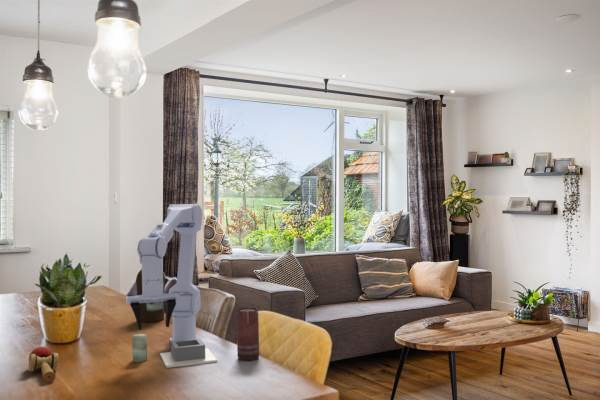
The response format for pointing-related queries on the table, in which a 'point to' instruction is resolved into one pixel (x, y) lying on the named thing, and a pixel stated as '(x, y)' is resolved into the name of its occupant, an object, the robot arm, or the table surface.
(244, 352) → the can
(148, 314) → the olive oil
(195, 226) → the robot arm
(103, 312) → the table surface
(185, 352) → the socket
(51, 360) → the kendama
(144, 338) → the peg
